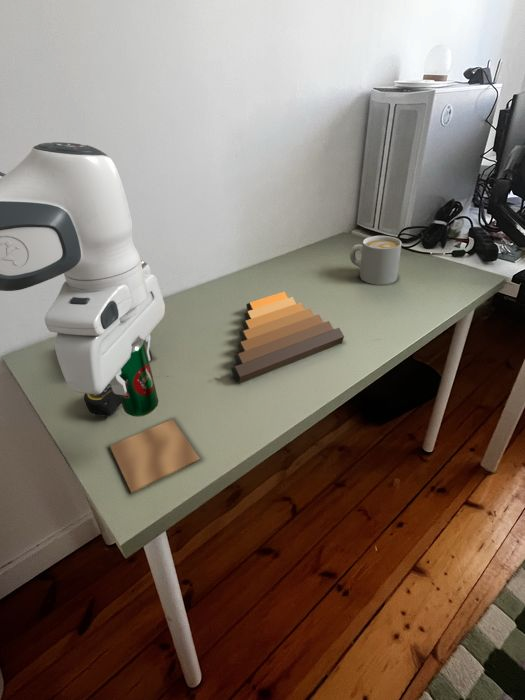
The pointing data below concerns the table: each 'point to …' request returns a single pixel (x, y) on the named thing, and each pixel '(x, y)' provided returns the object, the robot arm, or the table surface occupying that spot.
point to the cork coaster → (153, 455)
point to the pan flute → (280, 336)
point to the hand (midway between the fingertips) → (133, 377)
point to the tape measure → (103, 402)
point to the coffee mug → (378, 259)
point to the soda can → (139, 382)
